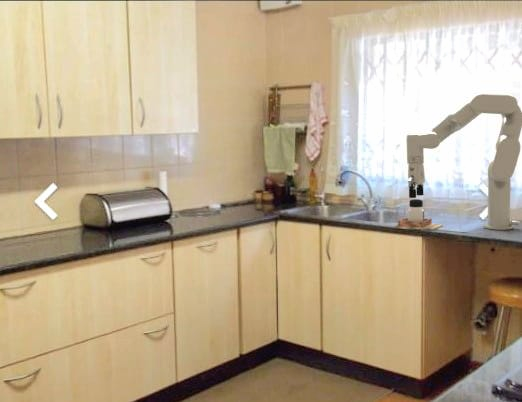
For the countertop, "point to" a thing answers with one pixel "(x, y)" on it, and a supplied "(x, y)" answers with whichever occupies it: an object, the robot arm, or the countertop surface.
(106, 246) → the countertop surface
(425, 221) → the dock board
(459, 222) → the countertop surface
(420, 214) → the medicine bottle
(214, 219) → the countertop surface
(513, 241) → the countertop surface
